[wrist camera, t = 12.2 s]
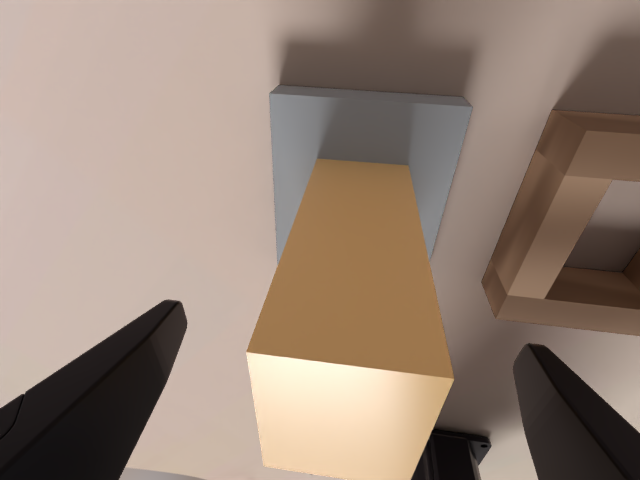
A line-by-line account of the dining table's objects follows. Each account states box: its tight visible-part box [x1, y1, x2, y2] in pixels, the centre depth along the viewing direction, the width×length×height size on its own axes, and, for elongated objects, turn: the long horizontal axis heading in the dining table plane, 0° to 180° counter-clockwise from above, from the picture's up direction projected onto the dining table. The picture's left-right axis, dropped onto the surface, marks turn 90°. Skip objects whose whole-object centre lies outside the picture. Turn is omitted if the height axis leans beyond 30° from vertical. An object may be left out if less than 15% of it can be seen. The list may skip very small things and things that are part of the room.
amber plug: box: [246, 159, 454, 480], centre depth 11 cm, size 4×4×9 cm
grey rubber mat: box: [269, 85, 473, 264], centre depth 15 cm, size 9×7×2 cm
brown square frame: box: [481, 110, 640, 336], centre depth 14 cm, size 8×8×2 cm
